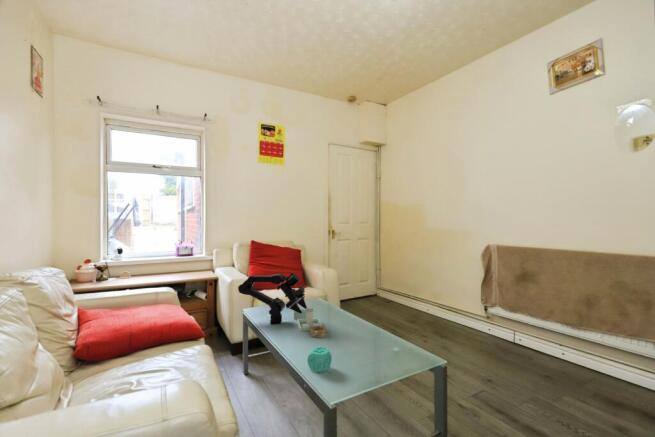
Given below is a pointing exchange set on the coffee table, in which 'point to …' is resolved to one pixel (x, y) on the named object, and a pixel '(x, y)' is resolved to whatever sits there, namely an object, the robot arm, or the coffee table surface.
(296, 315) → the right angle wall
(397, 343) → the coffee table surface
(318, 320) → the parts tray
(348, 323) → the coffee table surface
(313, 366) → the decorative dice
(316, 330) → the tan square frame block
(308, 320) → the ball
